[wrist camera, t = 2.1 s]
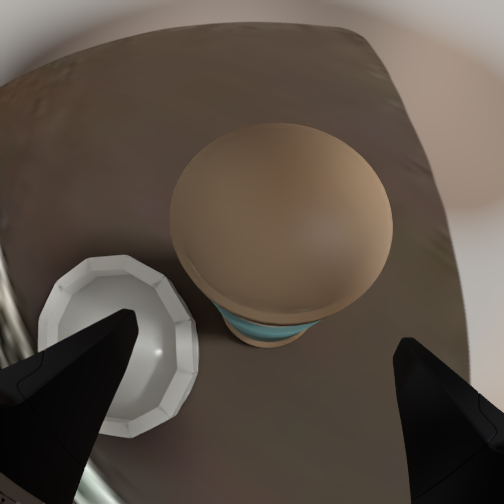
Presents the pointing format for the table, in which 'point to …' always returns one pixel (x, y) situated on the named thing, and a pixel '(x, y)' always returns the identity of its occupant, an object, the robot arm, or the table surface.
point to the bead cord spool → (280, 228)
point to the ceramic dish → (148, 341)
